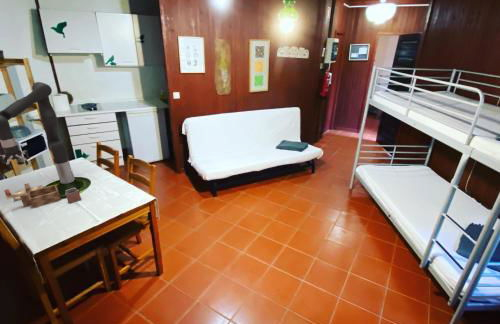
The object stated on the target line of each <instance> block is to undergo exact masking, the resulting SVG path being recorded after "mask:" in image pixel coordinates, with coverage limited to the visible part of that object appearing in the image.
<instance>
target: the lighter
mask: <svg viewBox="0 0 500 324" xmlns="http://www.w3.org/2000/svg"><path fill="white" fill-rule="evenodd" d="M64 194H65V196H66V200H67V204H73V203H76V202H79V201H82V197H81V193H80V189H77V188H76V187H71V188H69V189H66V190H65V193H64Z"/></svg>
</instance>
